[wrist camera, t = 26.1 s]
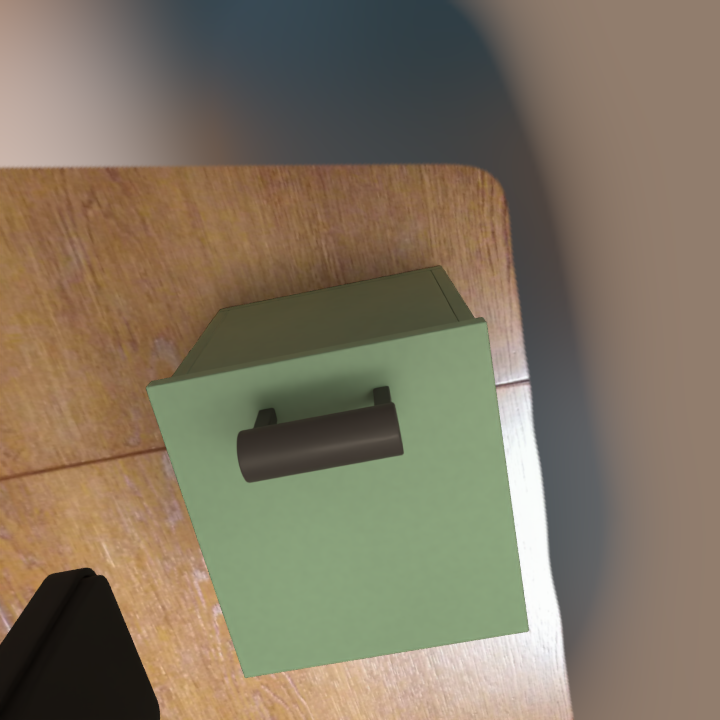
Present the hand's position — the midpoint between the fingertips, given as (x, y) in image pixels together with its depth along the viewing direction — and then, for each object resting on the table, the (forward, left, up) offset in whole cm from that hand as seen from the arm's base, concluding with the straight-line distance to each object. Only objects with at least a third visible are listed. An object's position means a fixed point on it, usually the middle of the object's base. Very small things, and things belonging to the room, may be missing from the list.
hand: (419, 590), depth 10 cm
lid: (+8, -7, -18) cm, 21 cm away
